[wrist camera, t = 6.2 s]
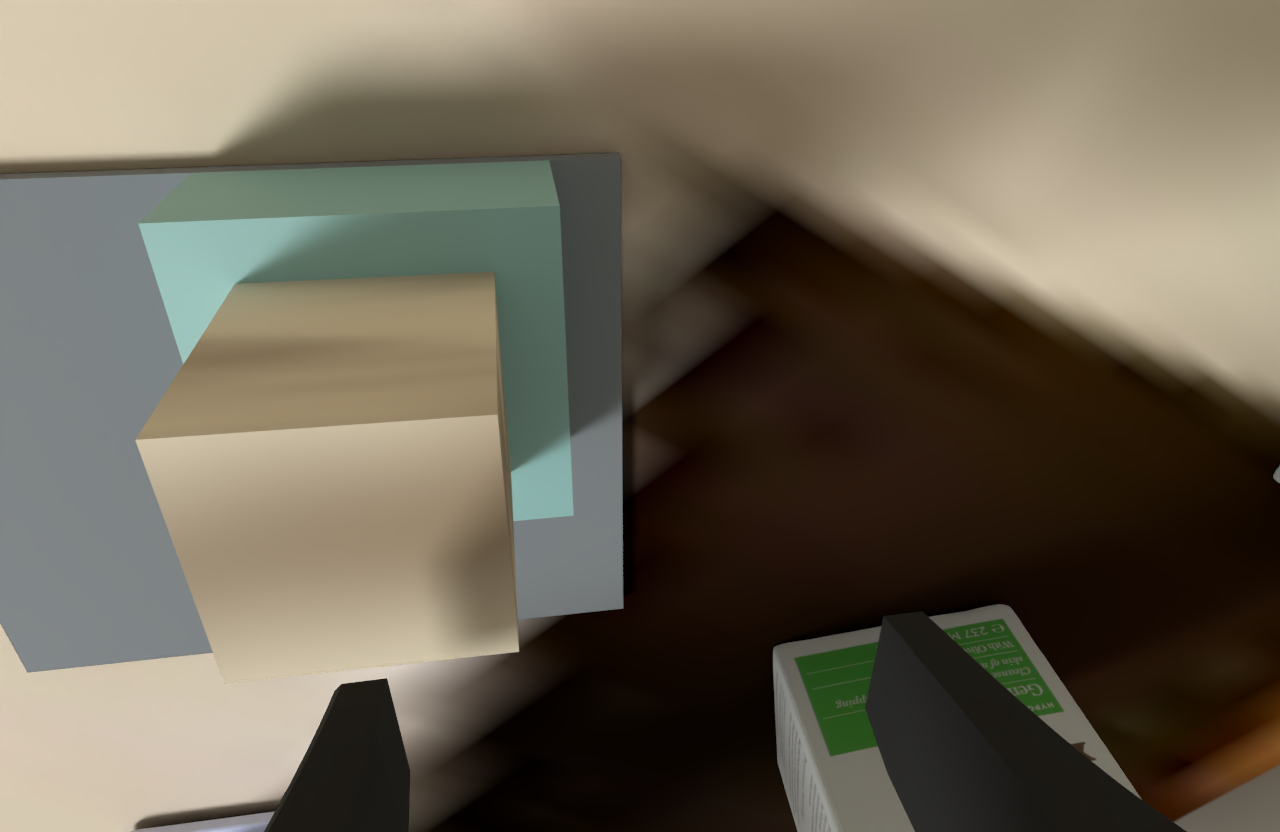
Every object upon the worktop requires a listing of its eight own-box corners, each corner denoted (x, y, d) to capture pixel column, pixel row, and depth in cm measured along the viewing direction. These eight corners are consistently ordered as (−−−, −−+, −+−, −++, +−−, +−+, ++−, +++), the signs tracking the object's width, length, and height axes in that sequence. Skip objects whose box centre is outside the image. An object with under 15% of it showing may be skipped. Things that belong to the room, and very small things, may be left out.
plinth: (563, 441, 21) (573, 515, 19) (271, 464, 20) (241, 546, 18) (549, 160, 17) (559, 205, 15) (191, 172, 16) (138, 223, 14)
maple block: (511, 471, 18) (519, 651, 14) (288, 489, 17) (224, 683, 13) (494, 271, 15) (497, 414, 11) (234, 283, 15) (135, 439, 11)
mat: (621, 598, 25) (623, 608, 24) (34, 661, 23) (27, 672, 22) (618, 152, 18) (620, 157, 18) (-225, 181, 16) (-241, 187, 15)
